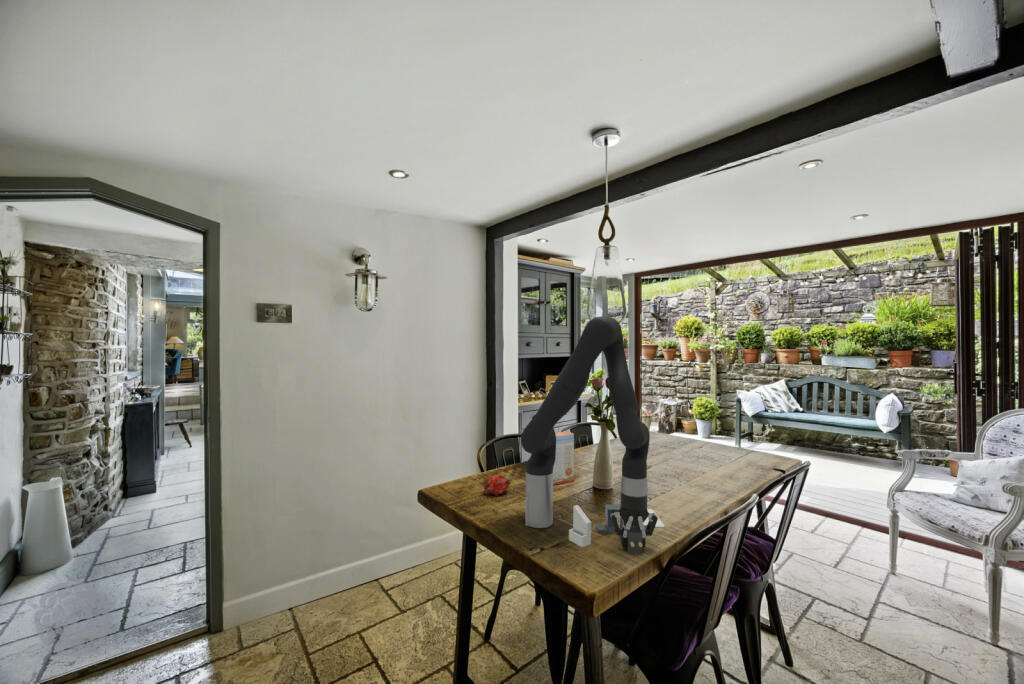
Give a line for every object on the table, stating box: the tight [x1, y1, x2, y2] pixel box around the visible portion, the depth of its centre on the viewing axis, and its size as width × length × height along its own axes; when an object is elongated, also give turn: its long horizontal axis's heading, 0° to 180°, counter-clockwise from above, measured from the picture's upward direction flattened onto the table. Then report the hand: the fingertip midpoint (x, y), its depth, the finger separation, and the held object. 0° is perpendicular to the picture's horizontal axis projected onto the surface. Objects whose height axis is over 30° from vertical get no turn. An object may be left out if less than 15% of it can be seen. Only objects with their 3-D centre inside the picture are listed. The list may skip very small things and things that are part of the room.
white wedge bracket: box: [568, 504, 592, 548], centre depth 130 cm, size 4×10×9 cm
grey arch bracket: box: [595, 504, 647, 534], centre depth 137 cm, size 17×4×8 cm, turn 88°
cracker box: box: [553, 430, 575, 486], centre depth 182 cm, size 14×6×21 cm, turn 115°
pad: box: [643, 508, 666, 529], centre depth 146 cm, size 8×14×1 cm, turn 178°
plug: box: [619, 516, 643, 554], centre depth 127 cm, size 4×13×6 cm, turn 179°
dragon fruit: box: [482, 473, 511, 496], centre depth 169 cm, size 8×8×12 cm
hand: (633, 548), depth 125 cm, fingers closed on plug, 4 cm apart
